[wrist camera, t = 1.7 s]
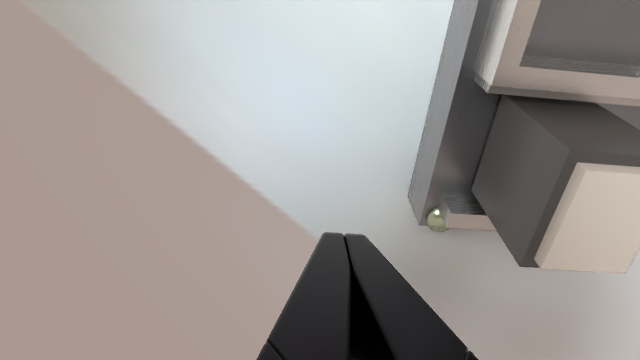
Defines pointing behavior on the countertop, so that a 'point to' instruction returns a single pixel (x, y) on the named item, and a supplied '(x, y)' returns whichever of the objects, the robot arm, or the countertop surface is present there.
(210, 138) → the countertop surface
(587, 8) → the breaker panel
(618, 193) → the block
